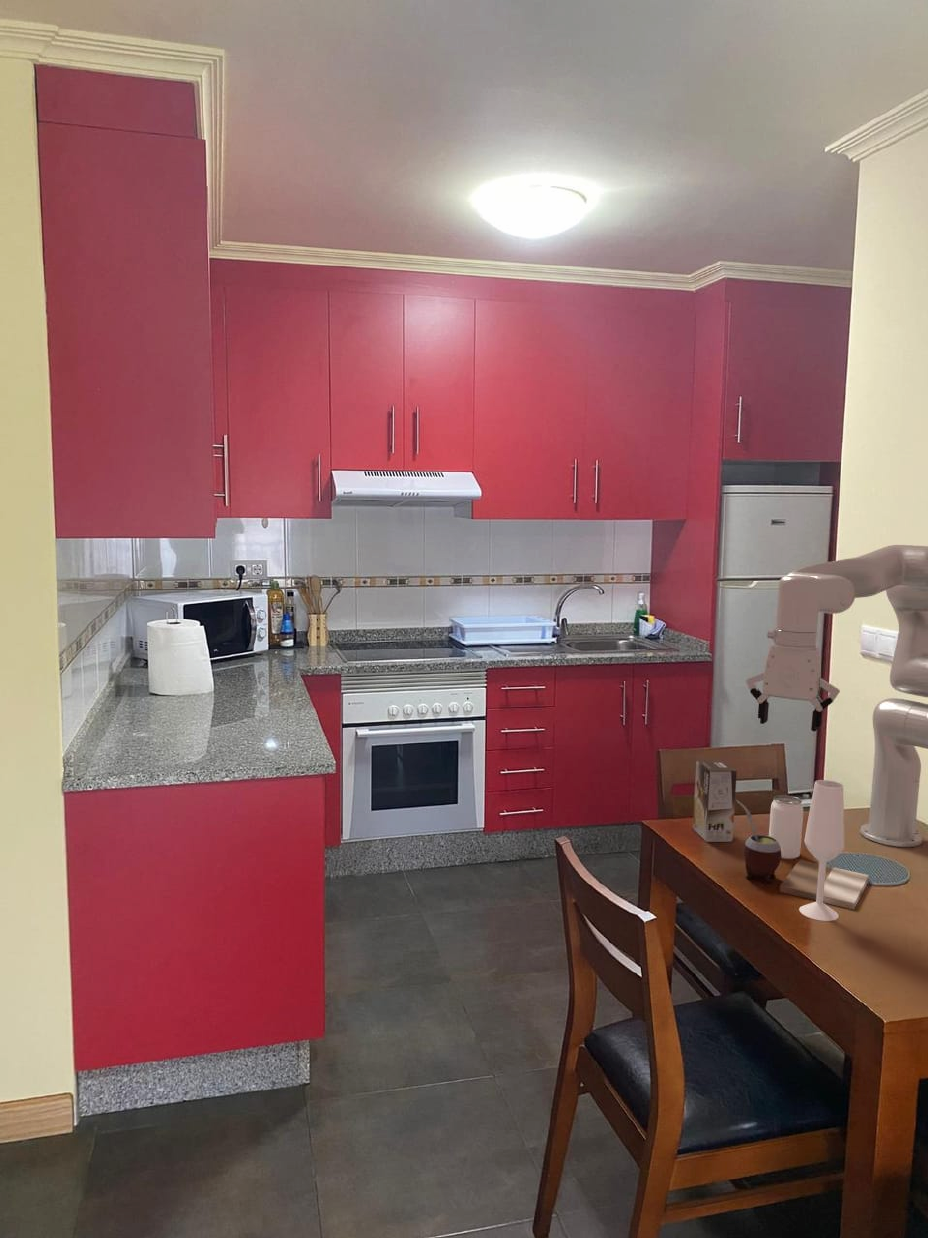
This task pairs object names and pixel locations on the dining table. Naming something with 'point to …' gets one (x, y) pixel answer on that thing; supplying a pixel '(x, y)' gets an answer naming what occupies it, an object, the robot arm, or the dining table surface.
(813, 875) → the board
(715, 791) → the coffee box
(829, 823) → the champagne flute
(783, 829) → the can
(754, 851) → the mate gourd
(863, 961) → the dining table surface
